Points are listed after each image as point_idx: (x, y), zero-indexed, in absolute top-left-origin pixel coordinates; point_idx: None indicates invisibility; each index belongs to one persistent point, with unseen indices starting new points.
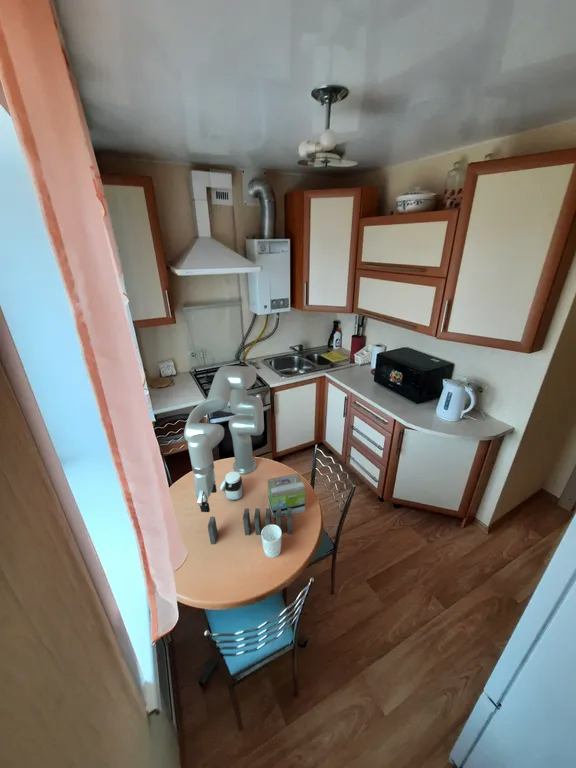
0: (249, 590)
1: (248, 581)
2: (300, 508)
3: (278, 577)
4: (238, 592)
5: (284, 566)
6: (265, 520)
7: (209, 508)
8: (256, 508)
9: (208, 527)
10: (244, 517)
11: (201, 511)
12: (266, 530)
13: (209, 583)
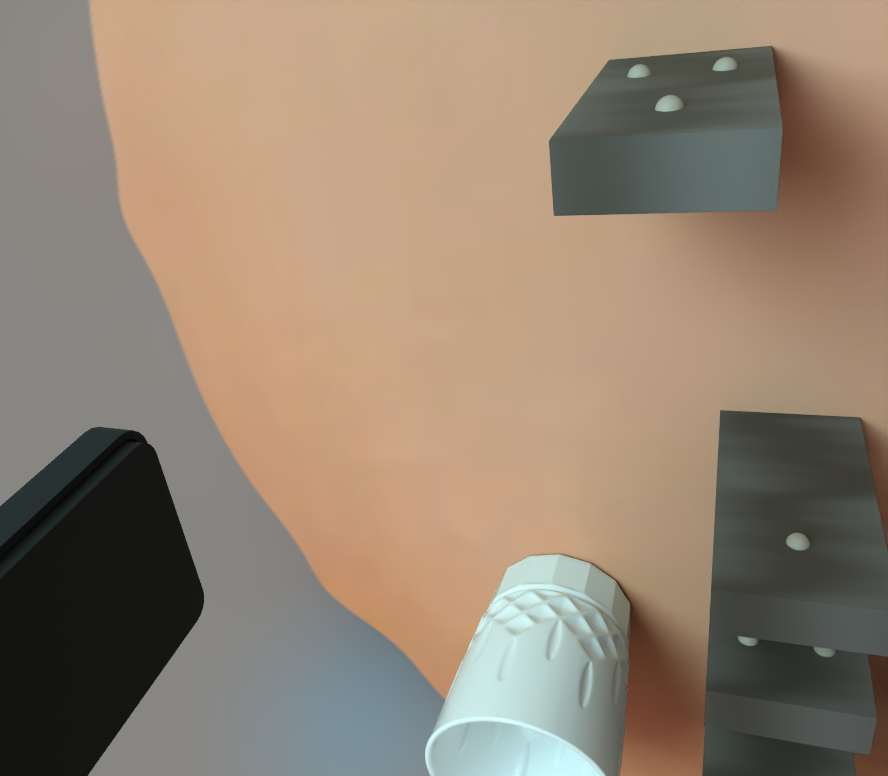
0: (258, 459)
1: (309, 452)
2: None
3: (372, 612)
4: (227, 396)
5: (447, 649)
6: (705, 741)
7: (144, 680)
8: (872, 728)
9: (551, 153)
10: (723, 605)
11: (95, 440)
12: (592, 719)
13: (223, 173)
